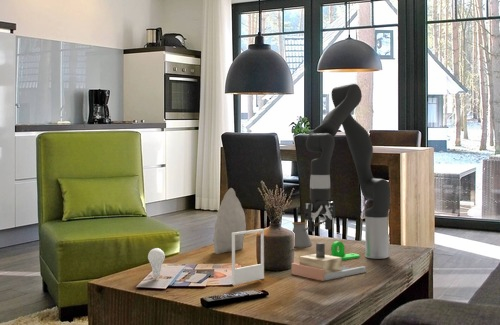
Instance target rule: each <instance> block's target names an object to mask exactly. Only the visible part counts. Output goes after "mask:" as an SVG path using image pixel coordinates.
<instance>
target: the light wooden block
mask: <svg viewBox="0 0 500 325" xmlns="http://www.w3.org/2000/svg"><path fill="white" fill-rule="evenodd" d="M325 248H326V244H325V243H324V242H317V243H315V253H311V254H307V255H302V256H301V255H300V256H299V264H302V265H307V266H311V267H316V268H321V269H325V274H326V273H331V272H336V271H341V270H342V266H343V265H342V264H343V262H342V261H343V260H342V258H341V257H335V256H331V255H329V254H325V252H326V251H325V250H326V249H325Z"/></svg>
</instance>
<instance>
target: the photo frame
mask: <svg viewBox="0 0 500 325" xmlns="http://www.w3.org/2000/svg"><path fill="white" fill-rule="evenodd" d="M264 230H265V229H264V228H258V229H250V230H246V231H242V232H234V233H232V251H231V285H233V286H235V285H240V284H243V283H244V284H245V283H249V282H254V281H258V280H263V279H265V241H264V240H265V235H264V234H265V231H264ZM259 232H260V263H259V264H252V265H247V266H242V267H237V268H236V250H235V235H238V234H251V233H252V234H253V233H259Z"/></svg>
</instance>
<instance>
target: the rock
mask: <svg viewBox="0 0 500 325" xmlns="http://www.w3.org/2000/svg"><path fill="white" fill-rule="evenodd" d="M236 195H237V194H236V191H235V189H234V188H232V187H230V188H229V189H228V190H227V191H226V193H224V195H223V199H222V200H221V203H220V206H219V209H218V211H217V212H216V220H215V223H214V233H213V237H212V242H213V248H214V254H217V255H218V254H223V253H227V252H232V233H234V232H242V231H247V230H246V229H247V223H246V214H245V211H244V209H243V207H242V203H241V202H240V199H239V198H238V197H237V196H236ZM245 234H246V233H245ZM245 234H238V235H235V251H238V250H242V249H243V248H244V241H245V240H244V239H245V236H246V235H245Z"/></svg>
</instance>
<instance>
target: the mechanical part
mask: <svg viewBox="0 0 500 325" xmlns="http://www.w3.org/2000/svg"><path fill="white" fill-rule="evenodd" d="M330 251H331V252H330V254H331V255H330V256H335V257H341V258H342V261H347V259H348V260H352V259H353V258H354V259H359V258H360V254H358V253H353V252H352V253H346V254H345V244H344V243H343V242H342V241H338V240H336V241H335V240H334V242H332V244H331V250H330Z"/></svg>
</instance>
